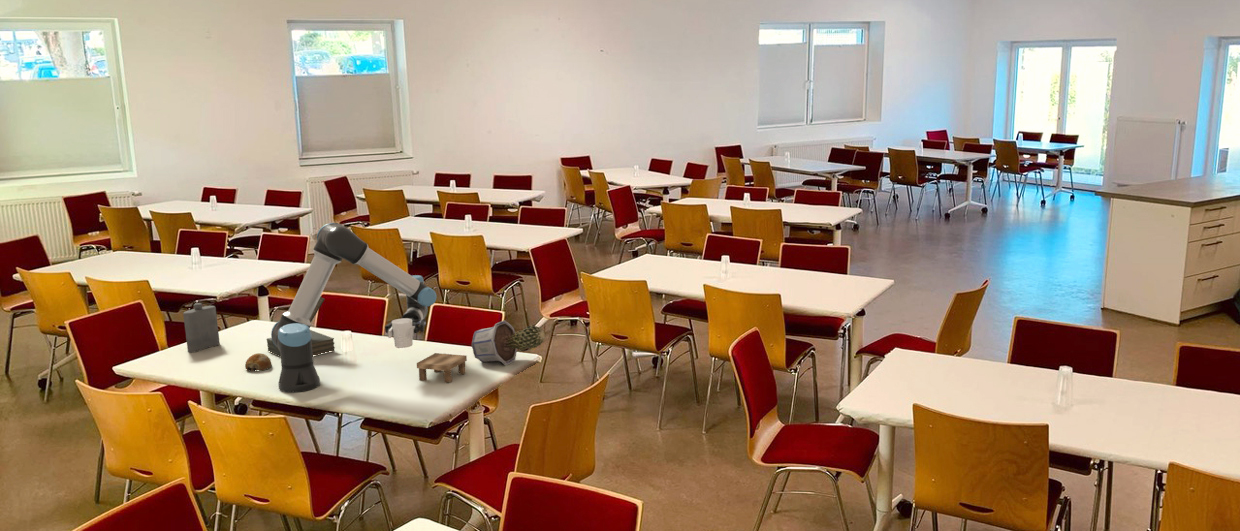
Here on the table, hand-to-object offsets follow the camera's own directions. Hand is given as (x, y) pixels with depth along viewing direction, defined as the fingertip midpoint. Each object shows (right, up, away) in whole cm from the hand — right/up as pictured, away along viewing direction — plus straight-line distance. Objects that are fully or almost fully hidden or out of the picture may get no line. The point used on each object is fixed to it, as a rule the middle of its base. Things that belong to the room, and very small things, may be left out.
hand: (400, 334), depth 369 cm
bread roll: (-63, -16, +25) cm, 70 cm away
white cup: (0, -5, +6) cm, 8 cm away
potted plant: (+40, -14, +22) cm, 47 cm away
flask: (-100, -10, +57) cm, 116 cm away
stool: (+15, -17, +7) cm, 24 cm away
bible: (-53, -11, +47) cm, 72 cm away
